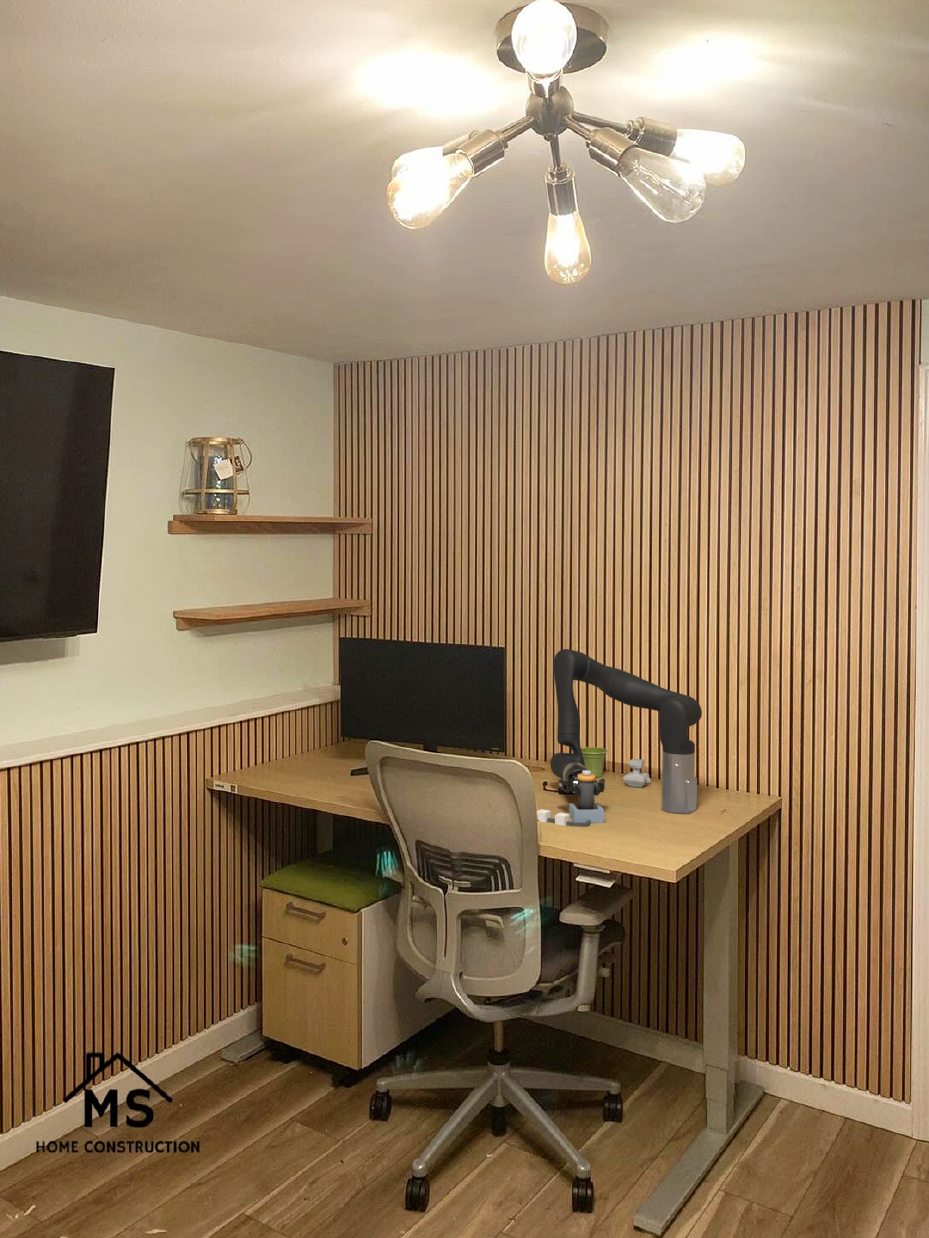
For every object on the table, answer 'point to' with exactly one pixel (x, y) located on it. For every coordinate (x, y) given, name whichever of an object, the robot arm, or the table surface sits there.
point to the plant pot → (594, 759)
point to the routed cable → (559, 819)
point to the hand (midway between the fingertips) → (588, 792)
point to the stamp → (636, 774)
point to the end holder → (587, 814)
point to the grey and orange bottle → (586, 790)
